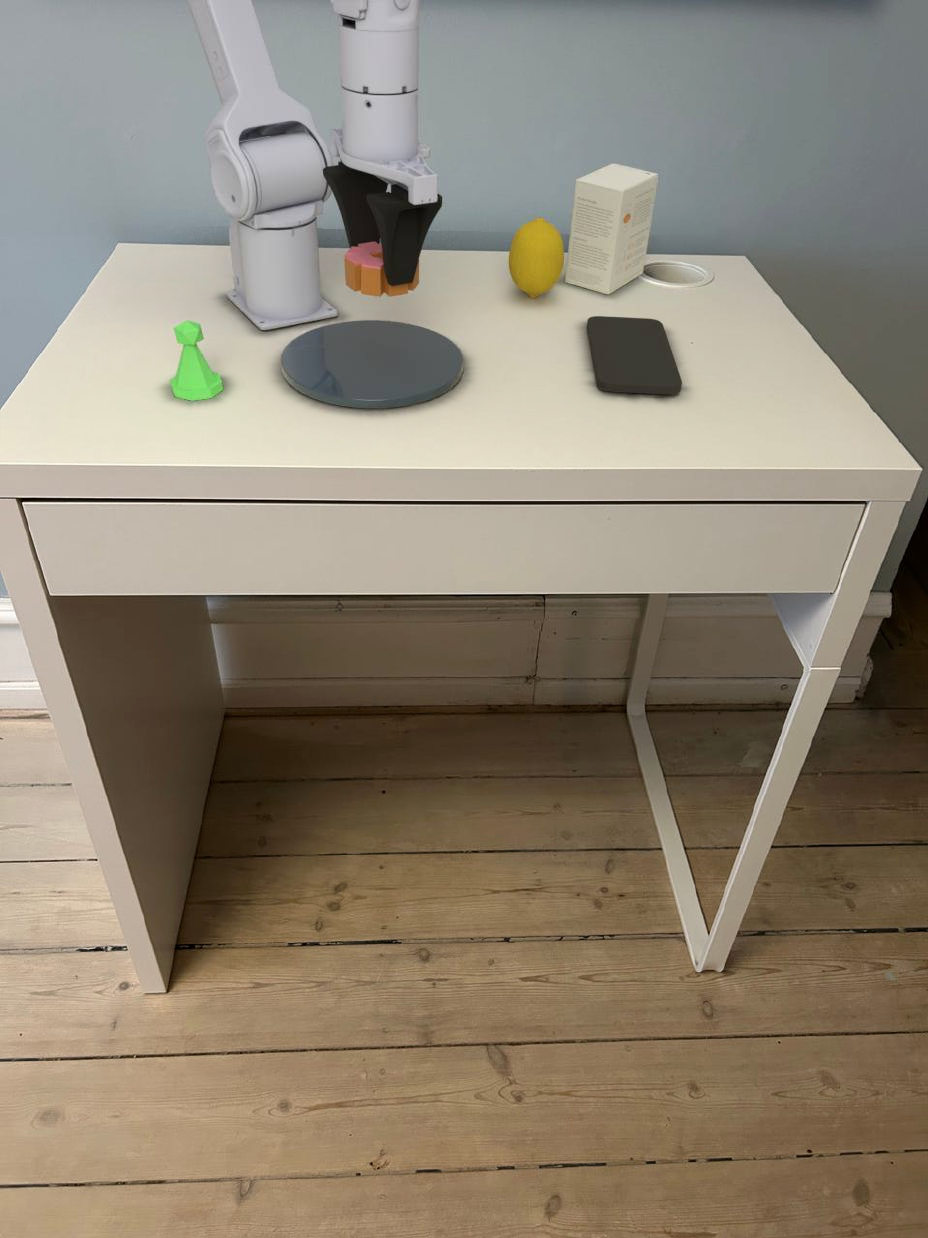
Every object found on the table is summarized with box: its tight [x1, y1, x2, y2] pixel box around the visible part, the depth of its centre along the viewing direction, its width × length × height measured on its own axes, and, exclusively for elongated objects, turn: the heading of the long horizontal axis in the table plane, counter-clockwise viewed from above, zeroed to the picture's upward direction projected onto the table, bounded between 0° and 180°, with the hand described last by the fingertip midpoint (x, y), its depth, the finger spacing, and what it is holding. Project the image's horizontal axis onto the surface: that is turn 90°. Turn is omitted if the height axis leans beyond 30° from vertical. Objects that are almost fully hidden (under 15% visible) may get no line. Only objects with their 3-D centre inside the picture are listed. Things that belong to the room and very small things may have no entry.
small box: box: [564, 162, 660, 295], centre depth 100 cm, size 8×6×10 cm
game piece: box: [169, 319, 224, 402], centre depth 78 cm, size 4×4×6 cm
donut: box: [343, 242, 420, 298], centre depth 79 cm, size 6×6×2 cm
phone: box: [586, 315, 683, 395], centre depth 88 cm, size 7×1×15 cm
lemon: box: [508, 216, 565, 299], centre depth 96 cm, size 6×6×8 cm
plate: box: [280, 319, 465, 409], centre depth 84 cm, size 16×16×1 cm
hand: (382, 269), depth 80 cm, fingers closed on donut, 6 cm apart
